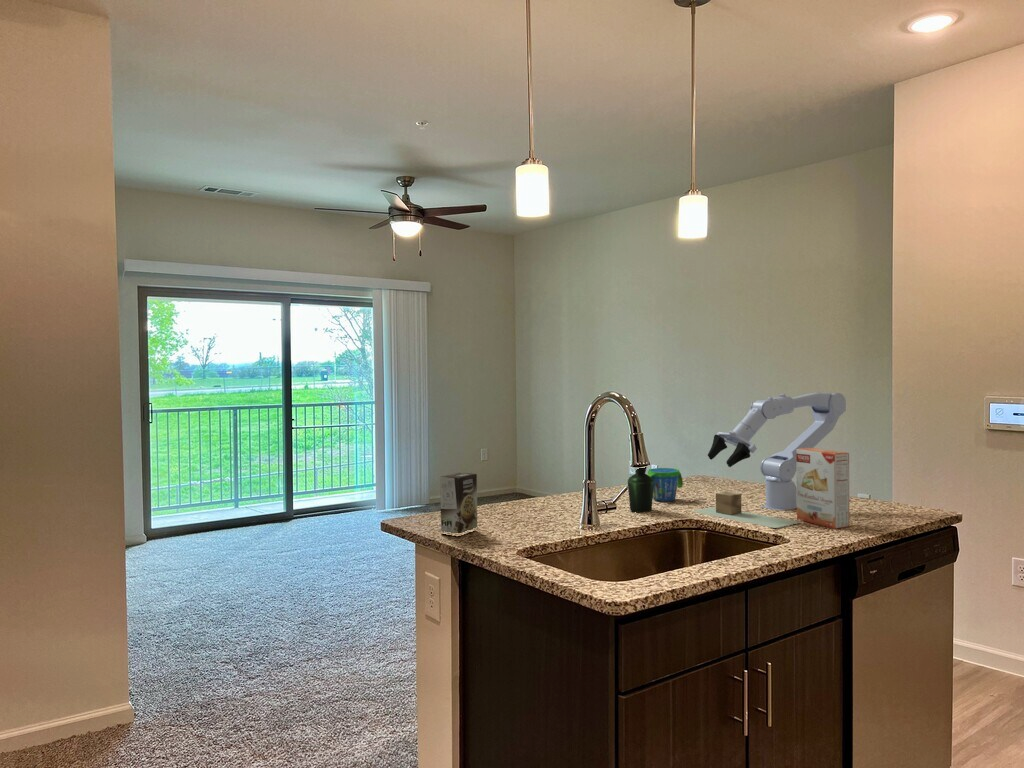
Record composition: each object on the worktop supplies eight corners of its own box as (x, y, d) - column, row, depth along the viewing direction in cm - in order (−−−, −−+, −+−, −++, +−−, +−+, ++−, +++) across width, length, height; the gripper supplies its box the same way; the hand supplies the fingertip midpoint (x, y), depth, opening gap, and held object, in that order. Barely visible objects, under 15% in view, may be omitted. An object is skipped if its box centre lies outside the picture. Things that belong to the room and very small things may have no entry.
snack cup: (654, 504, 237) (654, 473, 237) (635, 499, 247) (635, 469, 247) (692, 500, 244) (692, 470, 244) (672, 495, 254) (672, 466, 253)
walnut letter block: (726, 510, 224) (726, 491, 224) (741, 513, 219) (741, 493, 219) (715, 512, 221) (715, 492, 221) (730, 515, 216) (730, 495, 216)
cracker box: (795, 520, 210) (794, 448, 210) (811, 518, 213) (810, 447, 212) (834, 529, 198) (833, 453, 197) (850, 527, 200) (850, 451, 200)
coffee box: (459, 537, 194) (458, 477, 194) (440, 535, 198) (439, 476, 198) (478, 531, 202) (477, 473, 202) (459, 528, 206) (459, 471, 205)
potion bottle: (647, 508, 232) (646, 451, 231) (658, 512, 224) (658, 454, 223) (623, 509, 230) (623, 452, 229) (634, 514, 222) (633, 455, 221)
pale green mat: (715, 507, 230) (715, 506, 230) (800, 523, 206) (800, 522, 206) (690, 512, 223) (689, 511, 223) (775, 529, 199) (775, 527, 199)
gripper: (723, 415, 227) (696, 445, 224) (760, 427, 215) (731, 459, 212) (731, 430, 231) (705, 460, 228) (768, 442, 219) (740, 475, 215)
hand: (718, 461), depth 220 cm, fingers open, 7 cm apart
